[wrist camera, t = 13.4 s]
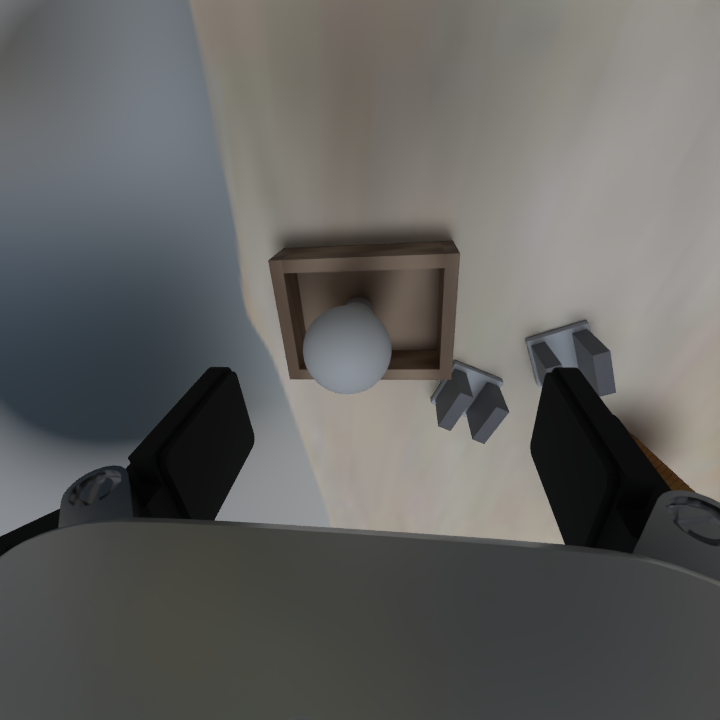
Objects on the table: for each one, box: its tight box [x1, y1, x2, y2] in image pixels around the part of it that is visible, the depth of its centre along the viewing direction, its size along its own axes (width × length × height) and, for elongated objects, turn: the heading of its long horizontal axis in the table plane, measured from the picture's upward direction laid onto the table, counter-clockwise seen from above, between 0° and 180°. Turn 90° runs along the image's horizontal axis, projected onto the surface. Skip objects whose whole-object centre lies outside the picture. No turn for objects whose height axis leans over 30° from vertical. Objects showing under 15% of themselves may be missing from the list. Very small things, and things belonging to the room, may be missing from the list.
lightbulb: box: [303, 297, 392, 394], centre depth 28 cm, size 6×6×11 cm
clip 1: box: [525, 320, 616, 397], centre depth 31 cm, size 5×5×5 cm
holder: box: [268, 241, 460, 380], centre depth 31 cm, size 14×10×4 cm
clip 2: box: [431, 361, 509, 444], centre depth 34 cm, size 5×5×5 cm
